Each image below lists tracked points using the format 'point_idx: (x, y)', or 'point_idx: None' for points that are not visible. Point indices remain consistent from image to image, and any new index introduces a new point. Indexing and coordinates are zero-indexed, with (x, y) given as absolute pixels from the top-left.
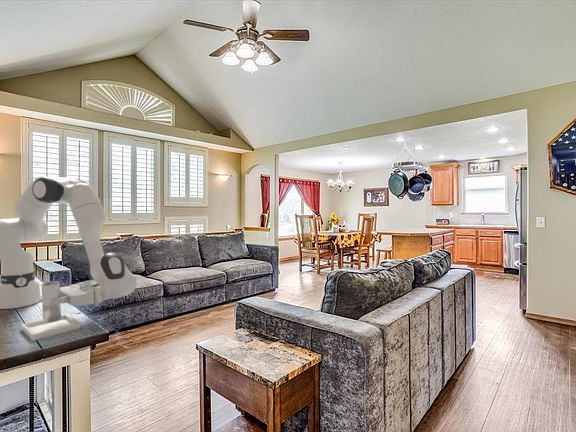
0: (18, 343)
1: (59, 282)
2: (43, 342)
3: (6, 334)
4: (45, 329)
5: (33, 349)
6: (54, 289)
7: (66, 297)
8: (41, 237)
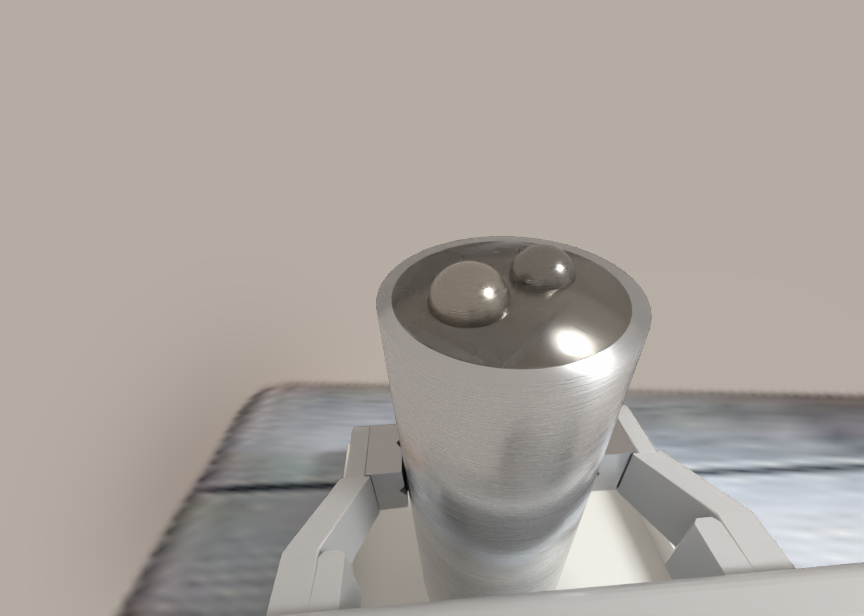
0: (393, 420)
1: (507, 382)
2: (293, 505)
3: None
4: None
5: (246, 458)
6: (390, 378)
7: (274, 594)
8: None
